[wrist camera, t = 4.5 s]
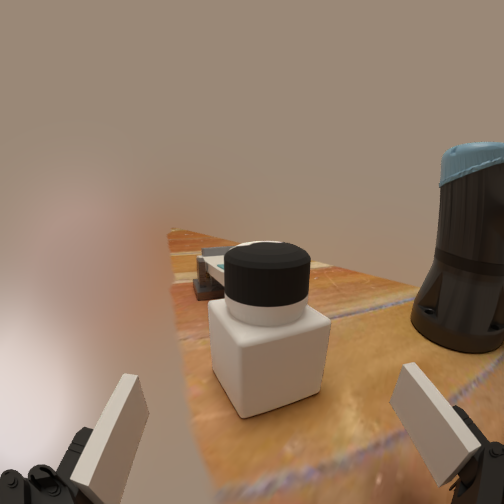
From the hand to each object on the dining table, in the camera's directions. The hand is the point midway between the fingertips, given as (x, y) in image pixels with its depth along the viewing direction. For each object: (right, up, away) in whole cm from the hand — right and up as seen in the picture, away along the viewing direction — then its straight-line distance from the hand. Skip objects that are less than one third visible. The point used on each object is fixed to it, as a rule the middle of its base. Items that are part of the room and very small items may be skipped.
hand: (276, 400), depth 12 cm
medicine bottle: (0, -4, +10) cm, 11 cm away
